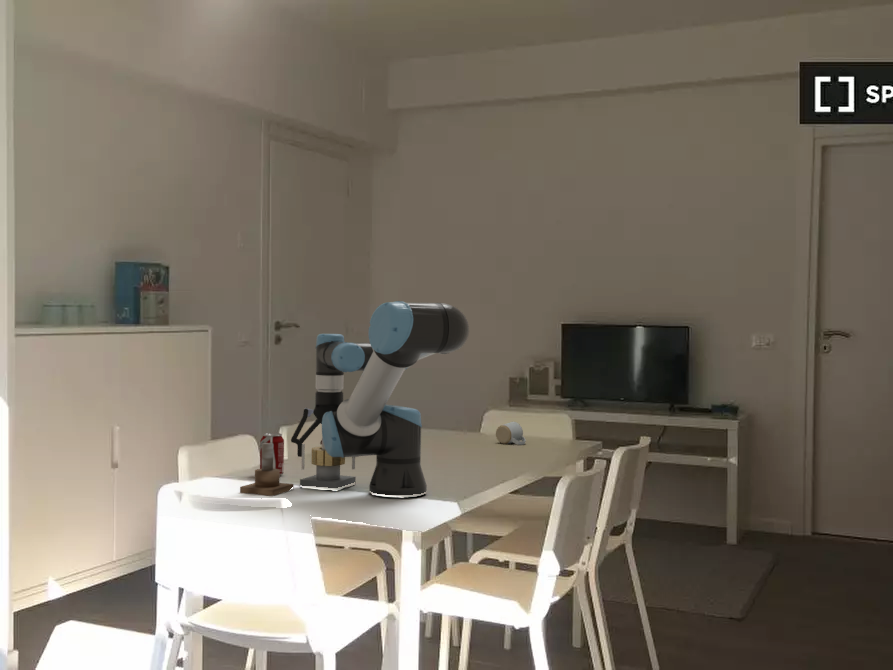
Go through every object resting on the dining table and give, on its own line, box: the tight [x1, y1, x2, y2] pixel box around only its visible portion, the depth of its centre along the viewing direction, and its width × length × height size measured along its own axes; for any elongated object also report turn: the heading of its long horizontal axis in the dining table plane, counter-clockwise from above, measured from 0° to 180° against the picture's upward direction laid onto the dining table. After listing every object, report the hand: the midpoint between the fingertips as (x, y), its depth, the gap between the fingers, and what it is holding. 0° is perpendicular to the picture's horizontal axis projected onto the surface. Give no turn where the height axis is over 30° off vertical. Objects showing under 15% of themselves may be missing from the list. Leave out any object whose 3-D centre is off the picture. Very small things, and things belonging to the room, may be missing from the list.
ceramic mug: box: [495, 421, 527, 446], centre depth 360 cm, size 11×8×8 cm
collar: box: [311, 446, 346, 466], centre depth 265 cm, size 9×9×4 cm
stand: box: [239, 443, 294, 497], centre depth 257 cm, size 10×10×12 cm
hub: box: [299, 437, 357, 488], centre depth 265 cm, size 11×11×13 cm
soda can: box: [259, 432, 285, 475], centre depth 281 cm, size 7×7×12 cm
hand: (328, 468), depth 265 cm, fingers open, 13 cm apart
